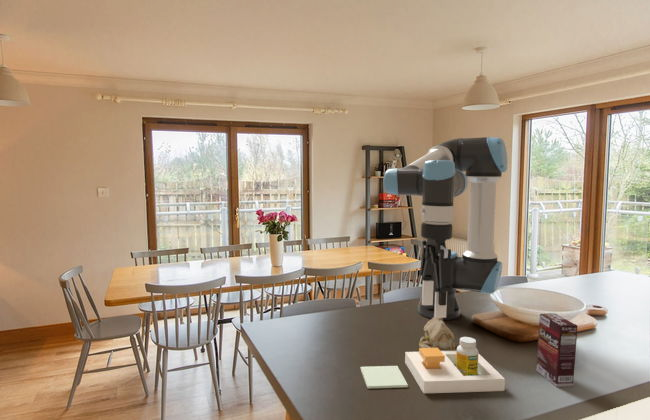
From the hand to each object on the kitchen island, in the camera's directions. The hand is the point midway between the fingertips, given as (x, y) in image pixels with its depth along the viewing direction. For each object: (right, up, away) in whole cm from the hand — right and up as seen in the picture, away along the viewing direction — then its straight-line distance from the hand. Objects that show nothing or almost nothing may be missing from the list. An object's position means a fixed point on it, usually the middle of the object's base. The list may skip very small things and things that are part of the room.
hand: (433, 310), depth 104 cm
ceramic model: (+7, -16, +19) cm, 26 cm away
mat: (-13, -17, 0) cm, 21 cm away
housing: (+5, -17, +2) cm, 18 cm away
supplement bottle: (+9, -18, +2) cm, 20 cm away
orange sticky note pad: (0, -15, +1) cm, 15 cm away
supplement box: (+31, -18, +1) cm, 36 cm away
